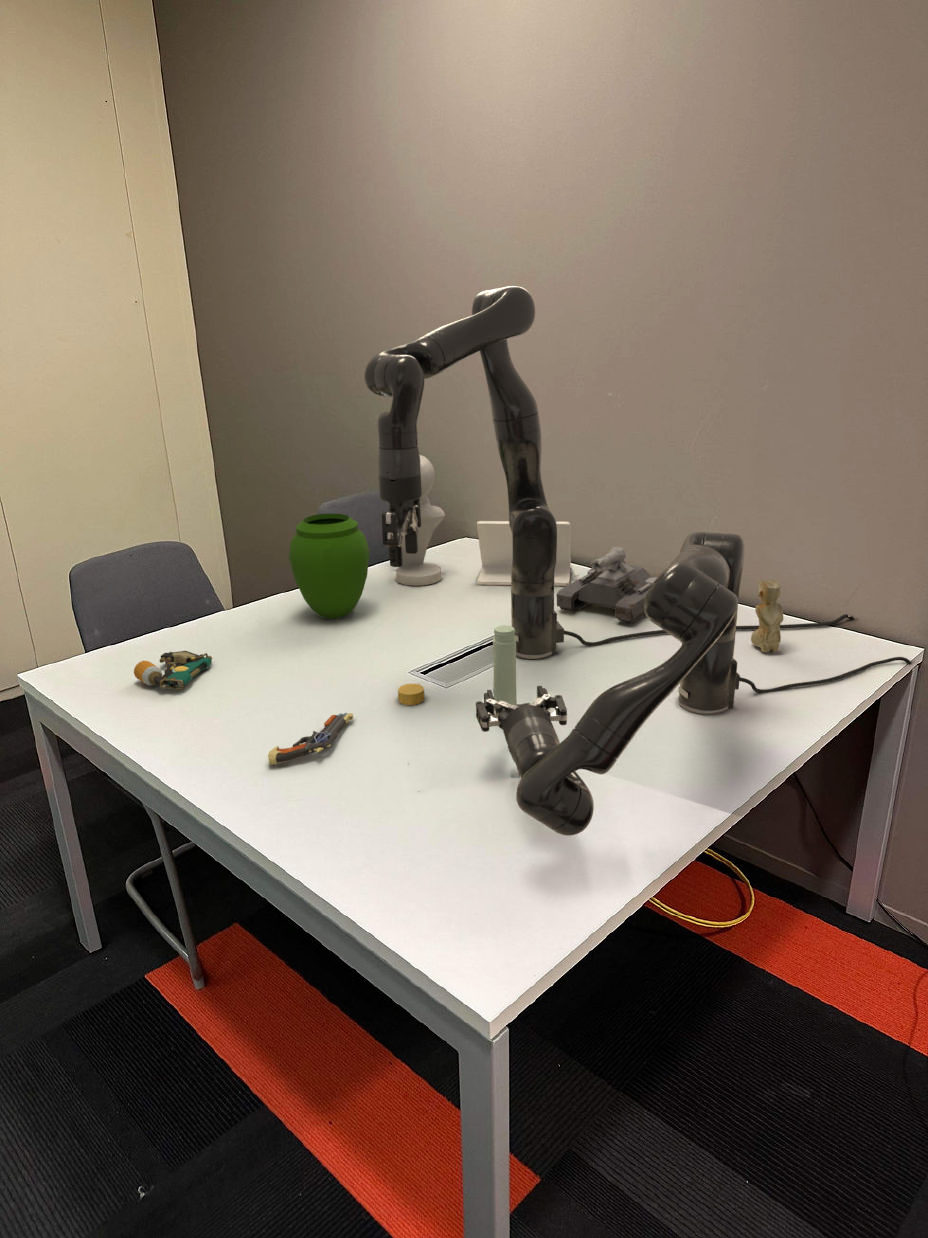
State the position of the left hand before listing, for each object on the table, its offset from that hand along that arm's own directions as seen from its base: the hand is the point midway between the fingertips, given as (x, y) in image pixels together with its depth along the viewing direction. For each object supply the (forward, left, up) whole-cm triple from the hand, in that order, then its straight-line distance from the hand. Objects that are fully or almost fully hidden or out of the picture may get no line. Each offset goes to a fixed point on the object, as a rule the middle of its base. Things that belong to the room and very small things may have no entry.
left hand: (404, 559), depth 157 cm
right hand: (-14, +24, -18) cm, 33 cm away
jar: (-16, +13, -29) cm, 35 cm away
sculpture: (-78, -5, -29) cm, 84 cm away
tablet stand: (-42, -70, -29) cm, 87 cm away
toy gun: (+20, +13, -29) cm, 37 cm away
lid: (0, 0, -27) cm, 27 cm away
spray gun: (+47, -24, -29) cm, 60 cm away
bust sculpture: (-10, -78, -29) cm, 84 cm away
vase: (+12, -53, -29) cm, 61 cm away
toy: (-58, -40, -29) cm, 76 cm away
